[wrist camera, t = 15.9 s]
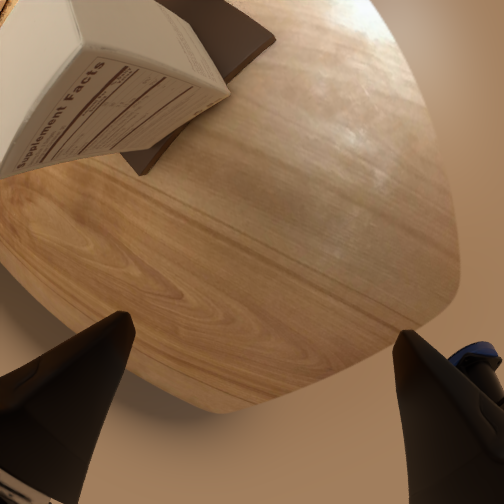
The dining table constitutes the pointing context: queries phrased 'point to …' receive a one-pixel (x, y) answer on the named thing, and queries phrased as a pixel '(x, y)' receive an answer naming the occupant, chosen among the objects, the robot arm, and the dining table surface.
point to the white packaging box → (96, 80)
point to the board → (210, 54)
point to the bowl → (2, 4)
